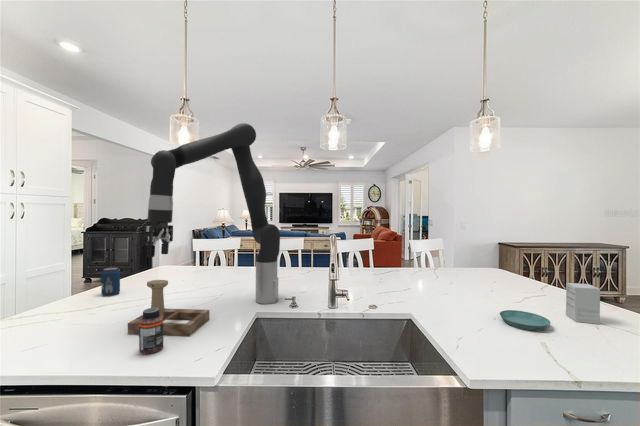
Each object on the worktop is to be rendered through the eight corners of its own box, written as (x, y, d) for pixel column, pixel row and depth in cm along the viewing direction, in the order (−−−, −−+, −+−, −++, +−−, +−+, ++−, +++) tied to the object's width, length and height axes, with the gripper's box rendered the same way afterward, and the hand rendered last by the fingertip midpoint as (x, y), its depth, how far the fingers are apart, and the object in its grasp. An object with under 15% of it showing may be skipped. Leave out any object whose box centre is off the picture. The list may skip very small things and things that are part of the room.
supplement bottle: (145, 345, 86) (145, 306, 86) (167, 344, 86) (167, 305, 86) (134, 355, 80) (134, 313, 80) (157, 354, 80) (157, 313, 80)
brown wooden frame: (209, 319, 106) (209, 308, 106) (189, 336, 92) (189, 324, 92) (155, 317, 107) (155, 307, 107) (127, 334, 93) (127, 322, 93)
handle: (161, 329, 97) (161, 283, 97) (143, 328, 98) (143, 283, 98) (170, 323, 102) (170, 280, 102) (153, 322, 103) (153, 279, 102)
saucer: (489, 320, 108) (490, 313, 108) (516, 314, 113) (516, 308, 113) (532, 336, 94) (532, 328, 94) (560, 329, 100) (560, 321, 100)
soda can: (116, 291, 140) (116, 266, 140) (122, 294, 136) (122, 268, 136) (99, 295, 135) (98, 268, 134) (104, 297, 131) (104, 270, 130)
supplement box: (589, 317, 111) (589, 283, 110) (600, 324, 104) (601, 288, 103) (565, 315, 113) (565, 282, 113) (574, 322, 106) (575, 286, 106)
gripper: (159, 208, 96) (157, 258, 95) (181, 210, 110) (178, 253, 110) (137, 207, 96) (134, 257, 96) (161, 209, 110) (158, 252, 110)
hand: (158, 255), depth 103 cm, fingers open, 8 cm apart
